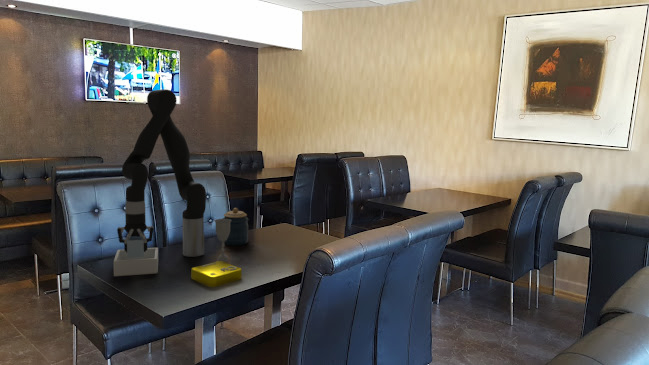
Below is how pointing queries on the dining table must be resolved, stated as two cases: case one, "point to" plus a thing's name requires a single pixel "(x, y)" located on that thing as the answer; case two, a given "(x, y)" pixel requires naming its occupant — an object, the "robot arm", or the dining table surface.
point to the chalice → (223, 235)
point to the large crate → (136, 263)
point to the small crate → (135, 247)
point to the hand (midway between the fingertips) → (136, 251)
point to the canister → (237, 227)
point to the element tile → (216, 273)
